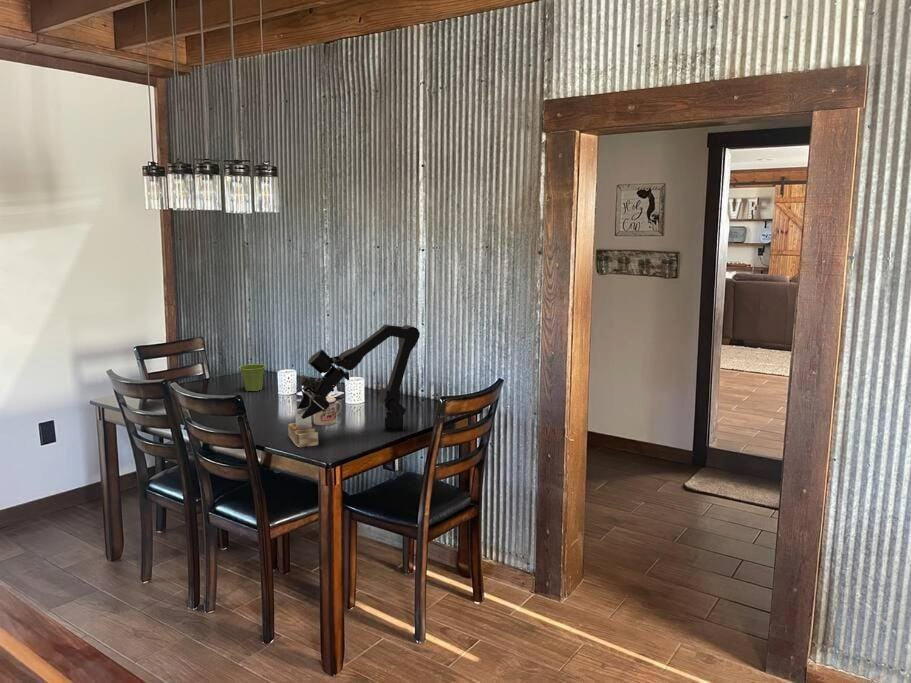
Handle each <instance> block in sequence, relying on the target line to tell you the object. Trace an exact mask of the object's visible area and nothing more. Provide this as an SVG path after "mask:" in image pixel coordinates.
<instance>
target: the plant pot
mask: <svg viewBox="0 0 911 683" xmlns="http://www.w3.org/2000/svg"><path fill="white" fill-rule="evenodd" d="M266 367H267V366H266V364H263V363H262V364H261V363H252V364H244V365H241V366H239V367H238V368H239V370H240V373H241V375H242V380H243V384H244V389H245V391H246V392H248V391H256V392H260V391H262V390H263V383H264V374H265V368H266ZM259 390H260V391H259Z"/></svg>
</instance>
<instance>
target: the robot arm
mask: <svg viewBox="0 0 911 683" xmlns="http://www.w3.org/2000/svg"><path fill="white" fill-rule="evenodd" d="M420 335H421V334H420V331H419V329H418V328H417V327H415V326H412V325H409V324H405V325H403V326H399V325H392V324H388V323H385V324H383V325H382V326H381V328H379V329H378V330H376V331H375V332H374V333H372V334H371V335H370V336H368V337H367V338H366V339H364V340H363V341H362V342H360V343H359V344H358V345H356V346H354V347H351V348H348V349H347V350H345V351H343V352H341V353H340V354H339V355H335V356H332V357H330V355H328V354H327V353H326V352H325V351H324V349H319V350H318V351H317V352H315V353H314V354H312V355H311V356H310V358H309V359H308V365H309V366H311V367H312V368H313V369H315V370H316V372H318V373H319V374H323V373H324V375H323V376H322V377H318V378H317V379H316V378H315V377H312V376H306V375H303V374H302V375H301V378H300V380H299V382H298V384H300V386H302V388H301V389H302V390H301V394H302V397H301V399H300V401H299V404H298V405H297V407H296V409H303V408H307V409H306V410H305V412H304V413H303V415H302V417H301V418H302V419H305V418H307V417H309V416H311V417H312V416H313V415H314V414H316V413H318V412H321V411H324V410H323V408H324V409H325V410H327V408H328V407H329V402H328V401H327V400H326V399H327V398H326V397H327V396H329V394H331V392H332V393H334V392H335V388H336V387H337V386H338V384H339V383H340V382H341V381H342V380H343V379H345V380H346V381H350V372H348V371H352V370H354V369H356V367H357V366H358V365H359V364H360V363H361V362H362V360H363V358H364V357H365V356H366V355H367V354H369V353H370V352H372V351H373V350H374V349H376V347H378V346H379V345H380V344H382V343H384V342H385V341H386V340H387V339H388V338H390V337H394V338H398V350H397V354H396V357H395V360H394V362H393V368H392V369H391V373H390V376H389V381H388V383H387V385H386V386H385V388H384V387H381V389H380V393H379V395H378V398H379V404H380V405H381V407H382V408H384V411H385V412H386V415H385V416H384V429H385V431H386V432H400V431H401V432H402V431H404V430H405V425H404V415H405V414H406V411H407V409H406V408H405V407H404V406H403V405H402V404H401V398H402V397H401V386H402V383H403V379H404V376H405V372H406V369H407V366H408V362H409V358H410V355H411V352H412V350H413V349H414V348H415V346H416V345H417V343H418V341H419V339H420V337H421V336H420ZM333 364H334V365H335V366H334V365H333ZM342 368H343V369H344V370H343V369H342ZM345 370H346V371H345Z"/></svg>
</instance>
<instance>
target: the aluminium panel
mask: <svg viewBox="0 0 911 683" xmlns="http://www.w3.org/2000/svg"><path fill="white" fill-rule="evenodd" d="M306 409H307V408H303V409H297V408H296V409H294V410H295V411H294V412H295V423H296V430H305V429H313V428H312V427H313V426H312V415H311V416H309V417H307V418H305V419H302V418H301V417H302V415H303V413H304V412H305V410H306Z"/></svg>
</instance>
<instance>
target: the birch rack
mask: <svg viewBox="0 0 911 683" xmlns="http://www.w3.org/2000/svg"><path fill="white" fill-rule="evenodd" d="M287 428H288V431H287V432H288V437H289V439H290V440H291V441H292V442H293V444H294V445H295V447H296V446H297V447H299V448H305V446H307V447H313V446H319V432H318V431H316V429H315V428H314V427H313V428H312V429H305V430H296V422H295V423H287ZM297 447H296V448H297Z"/></svg>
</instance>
